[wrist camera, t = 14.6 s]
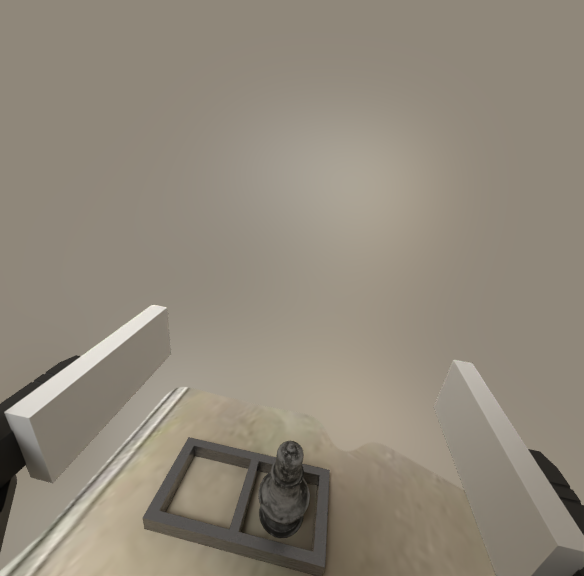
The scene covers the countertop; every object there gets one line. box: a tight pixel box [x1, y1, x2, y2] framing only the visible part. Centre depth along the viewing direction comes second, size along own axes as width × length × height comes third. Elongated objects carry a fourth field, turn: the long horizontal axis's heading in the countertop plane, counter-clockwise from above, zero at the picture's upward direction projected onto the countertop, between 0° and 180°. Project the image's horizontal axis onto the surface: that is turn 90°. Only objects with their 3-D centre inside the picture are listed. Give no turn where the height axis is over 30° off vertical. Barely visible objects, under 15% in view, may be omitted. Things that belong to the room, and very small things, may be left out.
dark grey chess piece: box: [259, 441, 310, 538], centre depth 32 cm, size 6×6×12 cm
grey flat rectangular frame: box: [143, 437, 330, 576], centre depth 34 cm, size 20×10×2 cm, turn 81°
